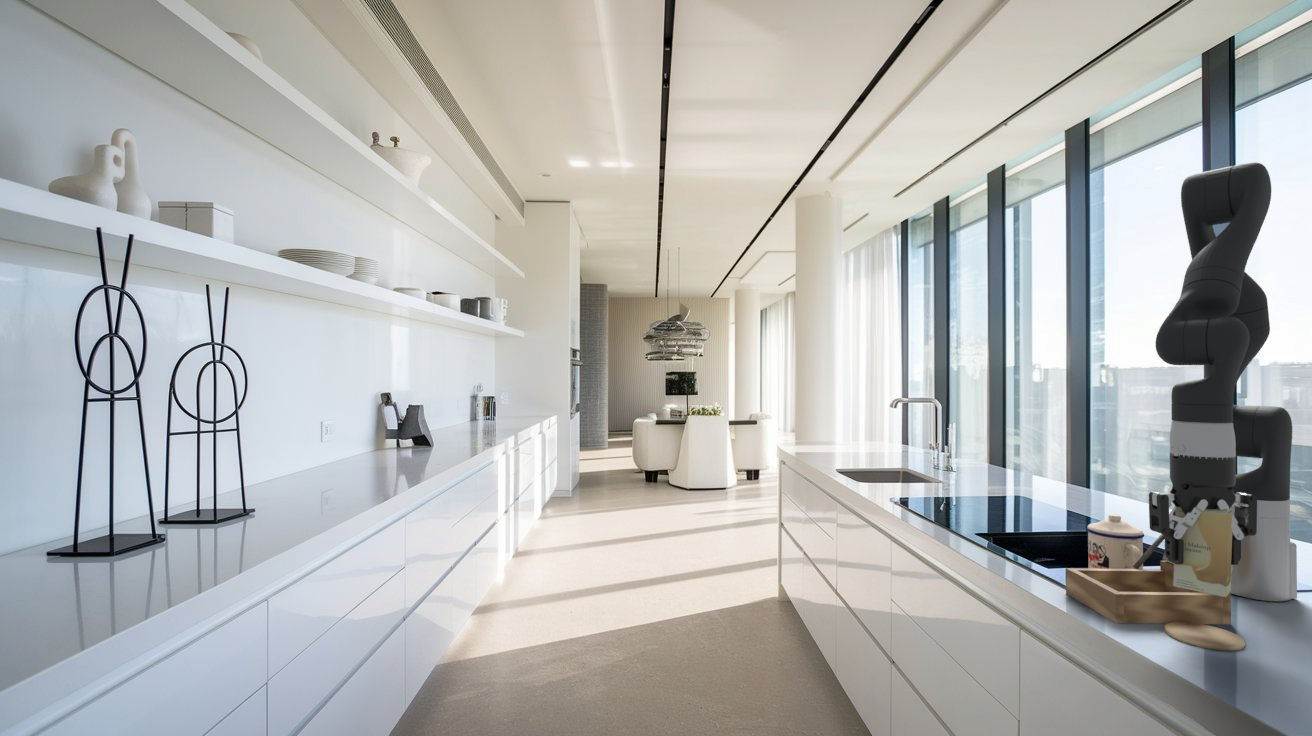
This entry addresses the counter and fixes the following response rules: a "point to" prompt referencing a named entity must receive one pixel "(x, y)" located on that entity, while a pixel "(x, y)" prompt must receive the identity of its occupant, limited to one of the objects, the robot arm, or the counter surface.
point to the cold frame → (1145, 594)
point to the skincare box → (1206, 553)
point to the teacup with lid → (1114, 544)
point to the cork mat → (1204, 636)
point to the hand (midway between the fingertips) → (1202, 563)
